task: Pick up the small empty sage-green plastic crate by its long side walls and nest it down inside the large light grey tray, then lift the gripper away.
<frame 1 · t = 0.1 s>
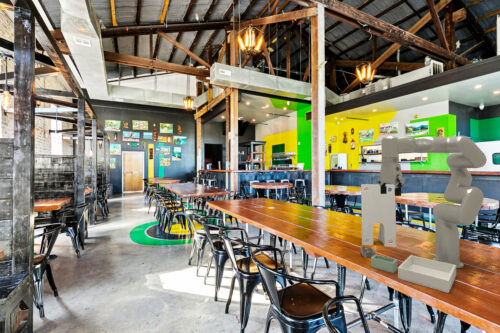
hand: (390, 194, 119), 37 cm above the table, tool pointing down, fingers open, 9 cm apart
small crate: (384, 268, 119), on the table
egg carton: (368, 255, 138), on the table
notched grey plate: (375, 242, 160), on the table
light grey tray: (427, 277, 109), on the table
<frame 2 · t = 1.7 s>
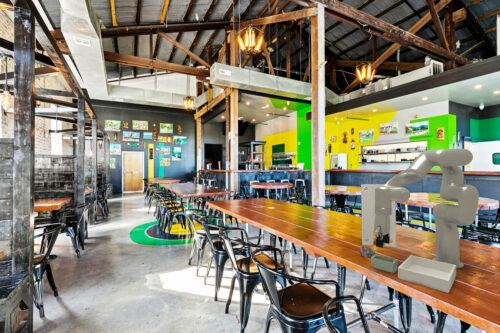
hand: (382, 245, 119), 12 cm above the table, tool pointing down, fingers open, 9 cm apart
nothing on the table moved.
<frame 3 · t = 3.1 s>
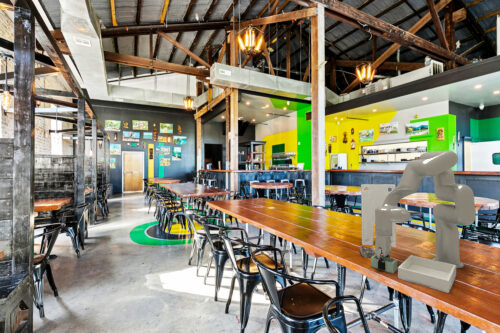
hand: (384, 267, 119), 1 cm above the table, tool pointing down, fingers closed on small crate, 6 cm apart
small crate: (384, 268, 119), on the table, touching gripper
everything else where it was.
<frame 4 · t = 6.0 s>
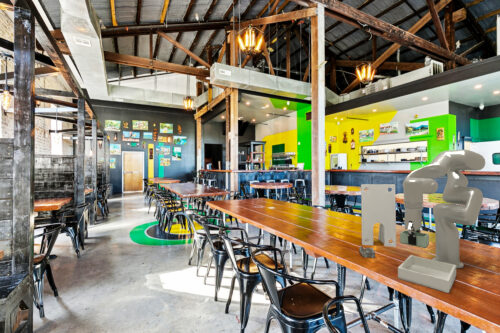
hand: (414, 242, 112), 15 cm above the table, tool pointing down, fingers closed on small crate, 6 cm apart
small crate: (414, 243, 112), point 14 cm above the table, touching gripper
everything else where it was.
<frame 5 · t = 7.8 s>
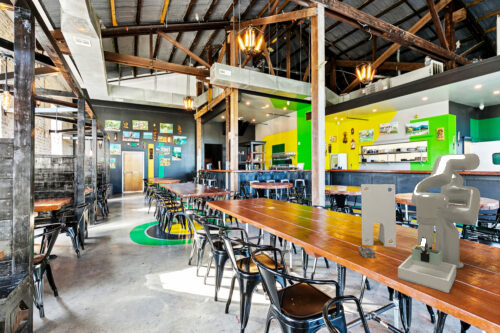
hand: (426, 259, 109), 8 cm above the table, tool pointing down, fingers closed on small crate, 6 cm apart
small crate: (426, 260, 109), point 8 cm above the table, touching gripper
everything else where it was.
when the fingers open (4 cm above the table, at t = 9.2 s): small crate drops 2 cm, resting on light grey tray.
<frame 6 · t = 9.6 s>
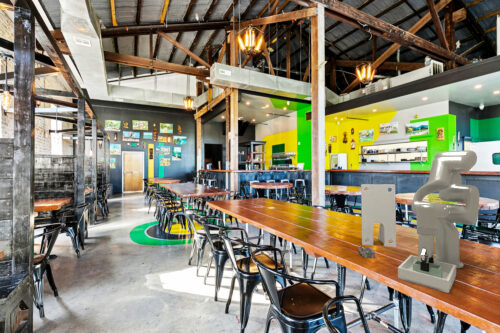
hand: (427, 267, 109), 4 cm above the table, tool pointing down, fingers open, 9 cm apart
small crate: (427, 275, 109), point 1 cm above the table, touching light grey tray
everything else where it was.
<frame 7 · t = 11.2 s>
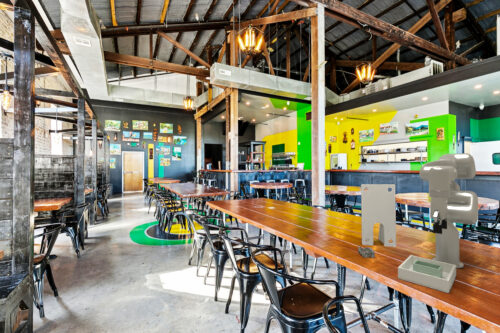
hand: (440, 230, 109), 22 cm above the table, tool pointing down, fingers open, 9 cm apart
nothing on the table moved.
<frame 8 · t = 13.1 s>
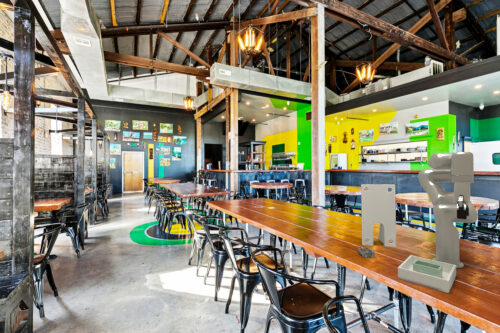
hand: (463, 217, 106), 28 cm above the table, tool pointing down, fingers open, 9 cm apart
at the end: small crate inside the target area on the light grey tray (0.1 cm from its centre), point 0.8 cm above the light grey tray's base; small crate tilted 0°; the gripper is holding nothing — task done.
